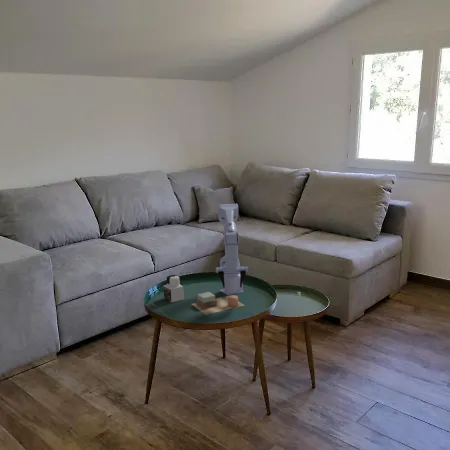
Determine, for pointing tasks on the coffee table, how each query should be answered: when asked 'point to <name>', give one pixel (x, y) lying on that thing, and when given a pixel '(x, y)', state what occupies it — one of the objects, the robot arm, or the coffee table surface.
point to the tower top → (206, 297)
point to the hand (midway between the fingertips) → (232, 286)
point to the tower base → (206, 304)
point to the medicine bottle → (173, 289)
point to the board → (221, 306)
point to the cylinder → (232, 301)
